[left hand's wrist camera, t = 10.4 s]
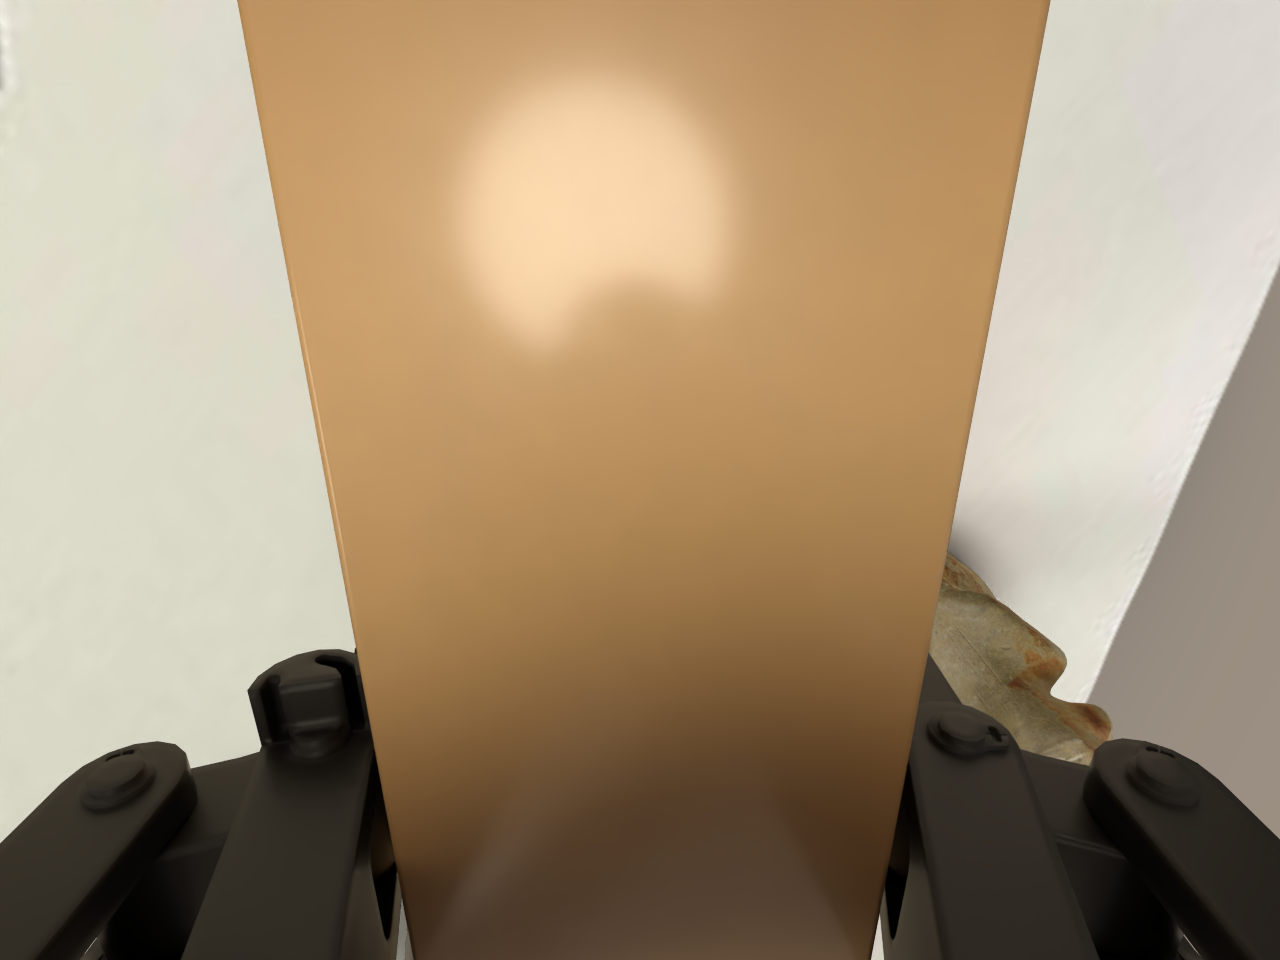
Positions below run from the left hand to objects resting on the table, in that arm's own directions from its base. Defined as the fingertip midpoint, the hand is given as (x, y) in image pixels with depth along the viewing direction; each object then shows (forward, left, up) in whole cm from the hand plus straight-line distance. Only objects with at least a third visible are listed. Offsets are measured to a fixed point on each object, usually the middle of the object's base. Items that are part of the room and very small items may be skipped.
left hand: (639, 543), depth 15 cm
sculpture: (-10, -16, -19) cm, 27 cm away
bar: (+10, +1, -1) cm, 10 cm away
